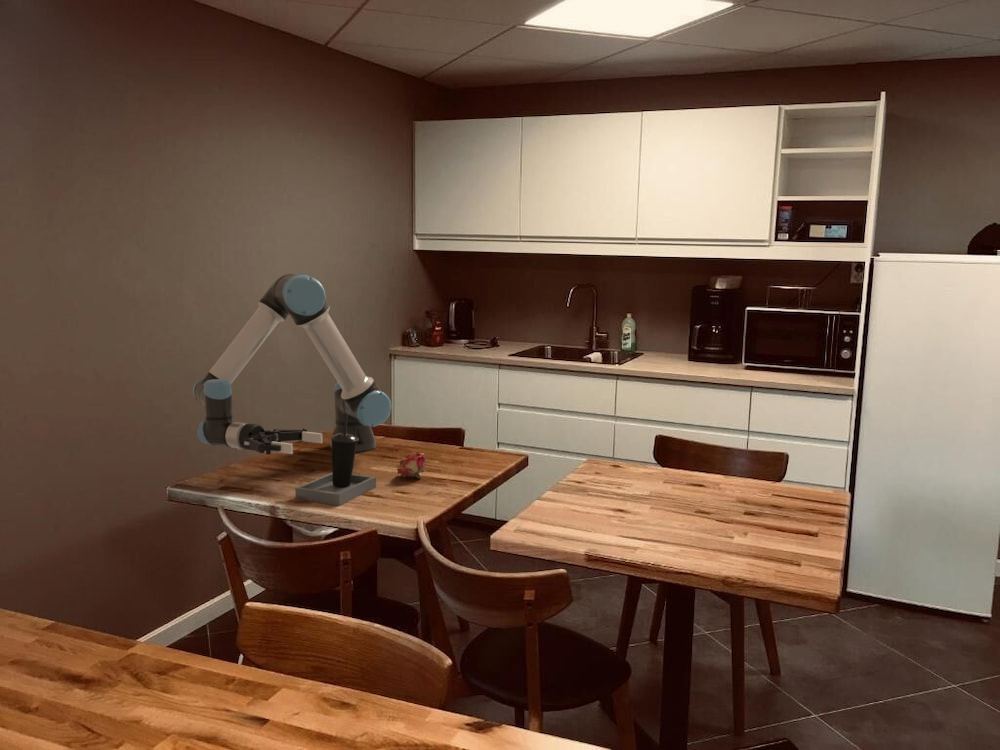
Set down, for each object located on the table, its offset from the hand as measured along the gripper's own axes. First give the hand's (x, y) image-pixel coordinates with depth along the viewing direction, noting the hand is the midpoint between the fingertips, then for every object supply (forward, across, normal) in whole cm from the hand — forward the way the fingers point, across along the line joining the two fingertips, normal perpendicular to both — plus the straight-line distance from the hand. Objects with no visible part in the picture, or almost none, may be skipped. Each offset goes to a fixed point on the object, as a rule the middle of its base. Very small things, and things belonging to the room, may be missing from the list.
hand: (307, 443), depth 221 cm
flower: (+20, -22, -13) cm, 33 cm away
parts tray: (+9, 0, -13) cm, 16 cm away
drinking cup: (+8, -4, -12) cm, 15 cm away
